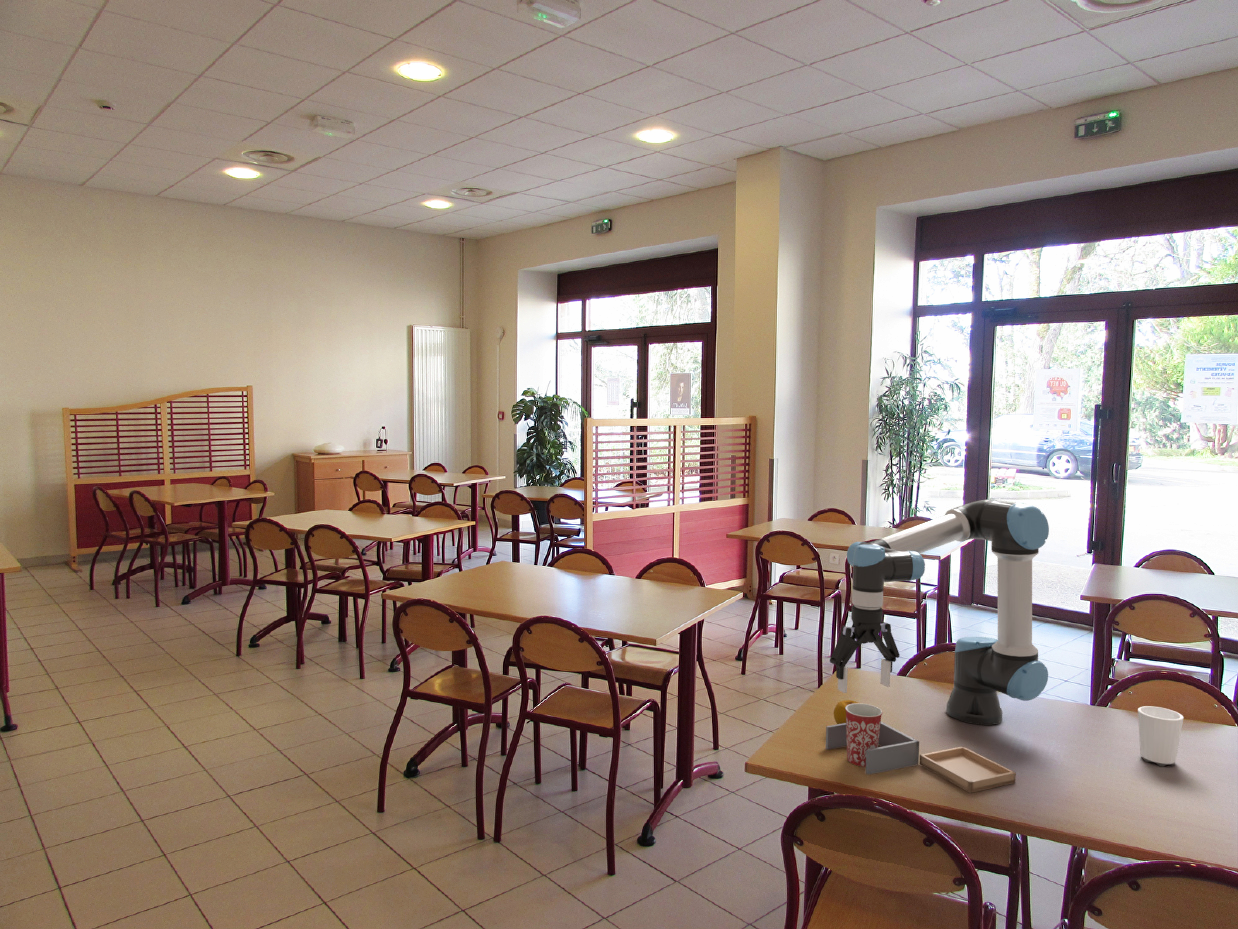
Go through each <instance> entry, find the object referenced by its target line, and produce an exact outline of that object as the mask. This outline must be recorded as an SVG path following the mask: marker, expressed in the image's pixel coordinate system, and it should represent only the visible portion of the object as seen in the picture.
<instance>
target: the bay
mask: <svg viewBox="0 0 1238 929" xmlns="http://www.w3.org/2000/svg"><path fill="white" fill-rule="evenodd" d="M825 729H826V730H825V749H826V750H828V751H829V750H833V749H839V748H845V747H847V732H846V723H843V724H837V723H836V724H833V725H827V726H826V728H825ZM879 746H880V747H879ZM919 761H920V741H919V740H917V739H915V738H914V737H911V736H910V735H908V734H906V733H904V732H902V731H900V730H899V729H897V728H894V727H893V726H891V725H890V724H887V723H886V722H883V721H881V724H880V733H879V742H878V748H873V749H867V750H866V767H865V774H866V775H869V776H870V775H873V774H877V773H883V772H889V771H893V770H898V769H899V770H900V769H902V768H907V767H908V768H909V767H913V766H917V765H919Z"/></svg>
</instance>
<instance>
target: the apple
mask: <svg viewBox="0 0 1238 929" xmlns="http://www.w3.org/2000/svg"><path fill="white" fill-rule="evenodd" d="M854 703H859V701H855V700H852V699H850V700H849V699H847V700H846V699H844V700H841V701H839V702H837V704H836V705H835V708H834V710H833V718H834V721H835V723H836V725H837V724H843V723H846V710H845V707H846V706H847V705H849V704H854Z"/></svg>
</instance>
